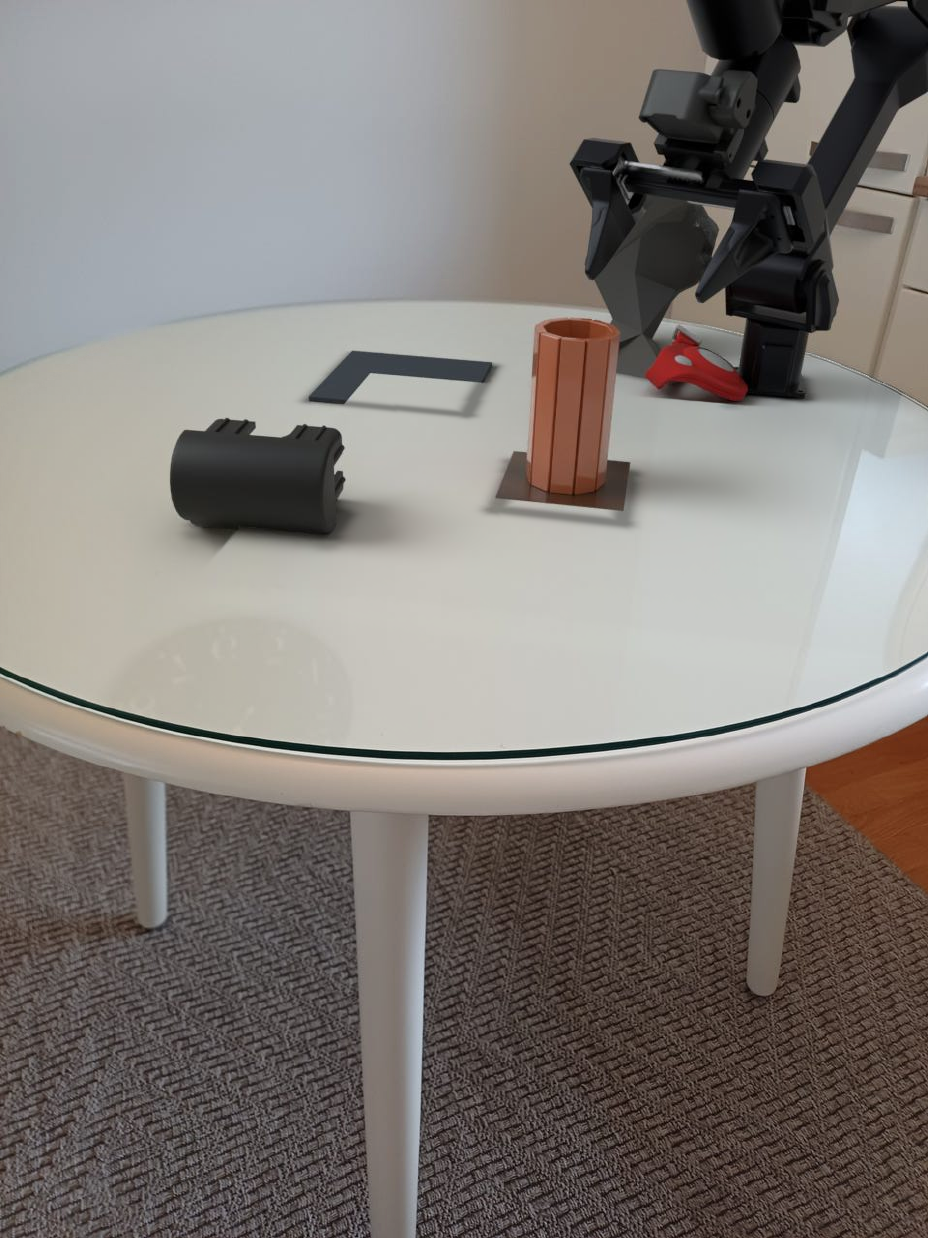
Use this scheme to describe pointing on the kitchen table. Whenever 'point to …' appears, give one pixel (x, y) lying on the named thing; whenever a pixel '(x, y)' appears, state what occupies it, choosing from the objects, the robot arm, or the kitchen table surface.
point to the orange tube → (571, 404)
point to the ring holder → (603, 498)
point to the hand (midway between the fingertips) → (641, 287)
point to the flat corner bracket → (393, 372)
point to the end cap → (257, 477)
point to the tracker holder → (696, 367)
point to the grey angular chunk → (654, 274)
